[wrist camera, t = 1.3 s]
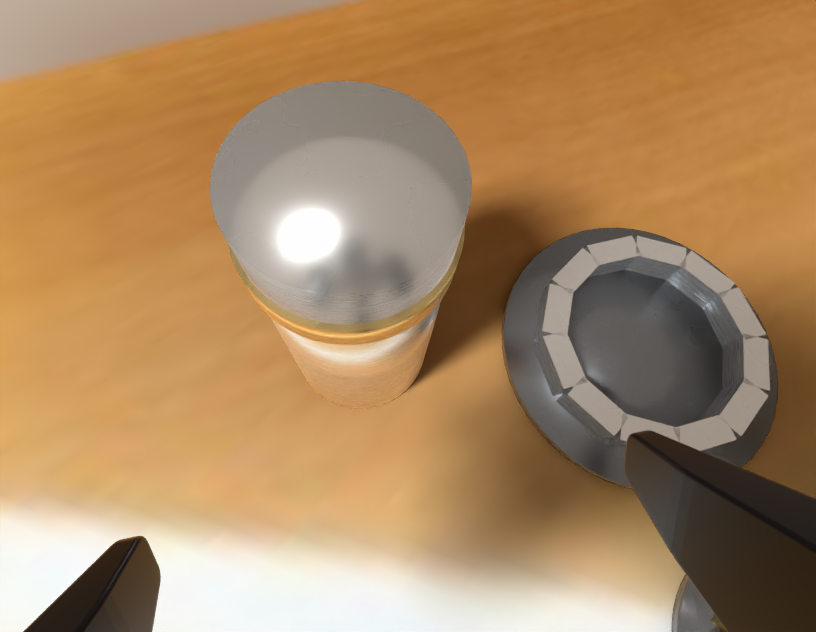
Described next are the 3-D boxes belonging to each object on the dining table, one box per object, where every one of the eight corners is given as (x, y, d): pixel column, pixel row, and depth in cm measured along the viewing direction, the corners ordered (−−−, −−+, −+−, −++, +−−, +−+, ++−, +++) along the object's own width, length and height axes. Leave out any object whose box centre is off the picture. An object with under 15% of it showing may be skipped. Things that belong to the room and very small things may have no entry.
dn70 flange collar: (816, 350, 25) (851, 338, 23) (677, 562, 21) (707, 568, 19) (604, 191, 28) (620, 168, 26) (445, 345, 24) (451, 332, 22)
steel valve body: (455, 346, 24) (531, 182, 12) (358, 441, 22) (332, 360, 10) (364, 261, 25) (351, 41, 13) (266, 343, 23) (146, 170, 11)
